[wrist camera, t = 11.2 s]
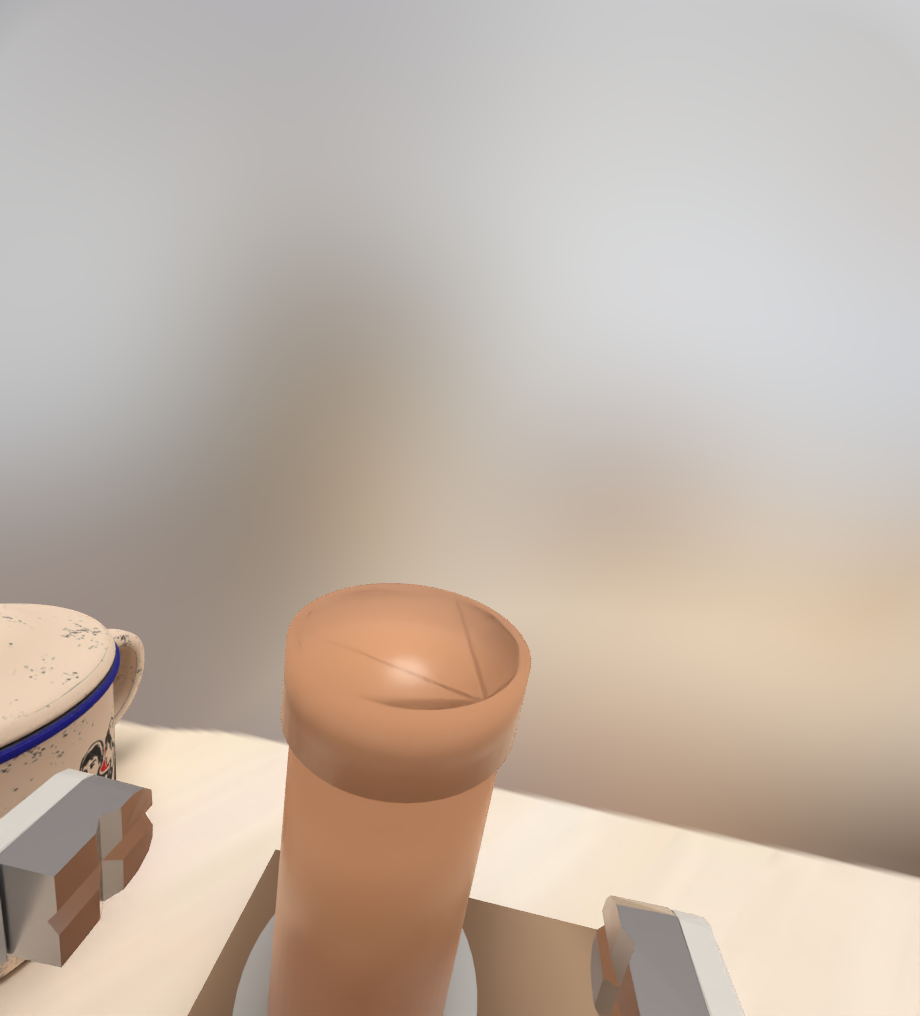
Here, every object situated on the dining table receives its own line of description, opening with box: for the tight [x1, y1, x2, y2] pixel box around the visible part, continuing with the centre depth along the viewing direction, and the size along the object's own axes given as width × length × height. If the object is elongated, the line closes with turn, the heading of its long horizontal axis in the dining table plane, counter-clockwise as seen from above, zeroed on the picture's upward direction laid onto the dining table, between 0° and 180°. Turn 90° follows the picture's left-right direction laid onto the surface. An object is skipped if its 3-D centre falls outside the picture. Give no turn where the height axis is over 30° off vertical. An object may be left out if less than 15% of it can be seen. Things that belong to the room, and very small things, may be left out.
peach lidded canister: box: [267, 583, 531, 1016], centre depth 10 cm, size 5×5×10 cm
